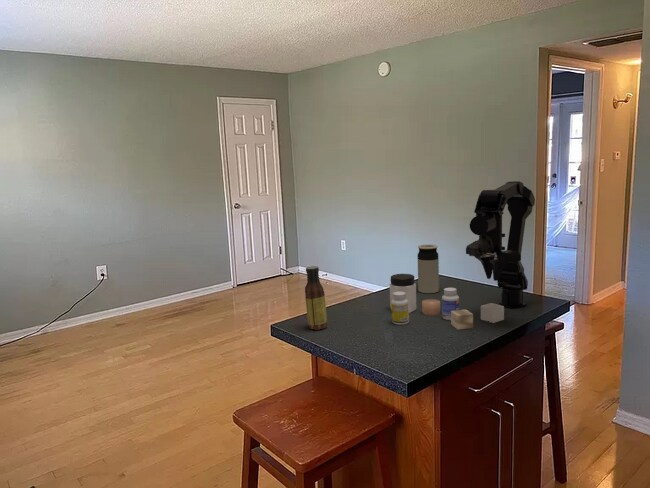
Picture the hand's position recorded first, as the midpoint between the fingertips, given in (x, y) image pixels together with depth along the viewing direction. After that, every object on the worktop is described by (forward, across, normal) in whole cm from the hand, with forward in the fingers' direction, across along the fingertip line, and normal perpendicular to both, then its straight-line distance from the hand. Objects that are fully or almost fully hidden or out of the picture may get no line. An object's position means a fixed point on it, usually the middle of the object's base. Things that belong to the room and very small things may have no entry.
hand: (492, 279), depth 156 cm
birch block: (+13, 0, -12) cm, 18 cm away
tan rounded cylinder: (+13, -16, -12) cm, 24 cm away
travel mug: (+13, -39, +3) cm, 41 cm away
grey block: (+13, 0, 0) cm, 13 cm away
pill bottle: (+13, -8, -10) cm, 18 cm away
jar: (+13, -24, -18) cm, 33 cm away
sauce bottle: (+13, -23, -51) cm, 57 cm away
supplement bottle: (+13, -13, -26) cm, 32 cm away
